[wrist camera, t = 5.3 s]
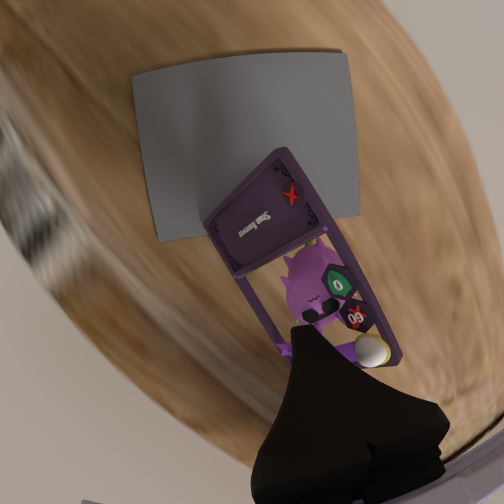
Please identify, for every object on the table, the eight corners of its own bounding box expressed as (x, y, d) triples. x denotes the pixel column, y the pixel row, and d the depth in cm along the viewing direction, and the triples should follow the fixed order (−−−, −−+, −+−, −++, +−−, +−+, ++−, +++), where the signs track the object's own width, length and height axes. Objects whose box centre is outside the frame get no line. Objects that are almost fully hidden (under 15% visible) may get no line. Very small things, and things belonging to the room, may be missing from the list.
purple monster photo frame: (263, 149, 9) (393, 378, 9) (340, 132, 12) (432, 301, 12) (189, 228, 14) (282, 379, 14) (261, 197, 17) (335, 324, 17)
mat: (358, 214, 16) (360, 215, 15) (160, 240, 16) (158, 242, 15) (344, 54, 12) (346, 53, 12) (133, 77, 12) (131, 76, 12)
